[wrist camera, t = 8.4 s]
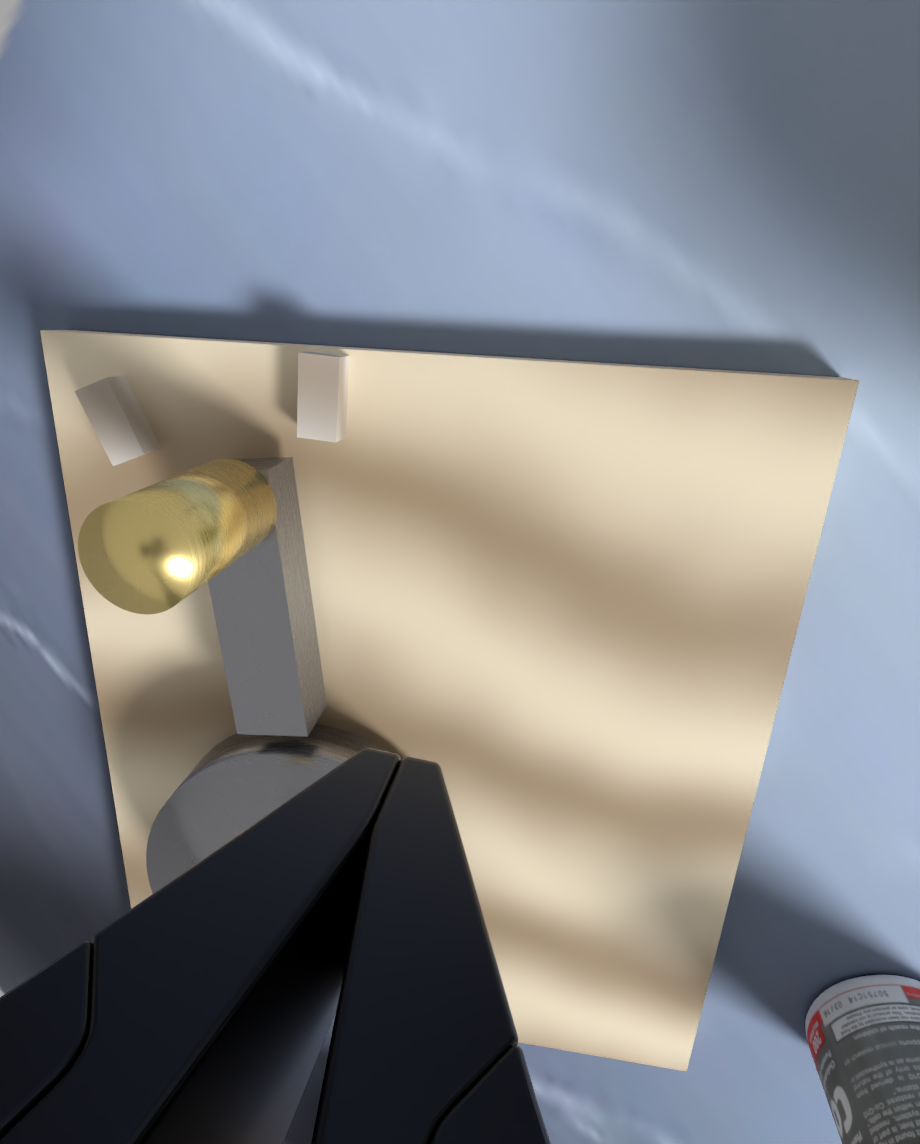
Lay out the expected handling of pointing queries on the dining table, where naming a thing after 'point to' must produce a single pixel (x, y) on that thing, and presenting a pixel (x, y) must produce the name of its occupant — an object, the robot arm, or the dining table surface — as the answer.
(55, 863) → the dining table surface
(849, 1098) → the pill bottle
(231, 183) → the dining table surface
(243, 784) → the lever
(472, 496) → the stand board
